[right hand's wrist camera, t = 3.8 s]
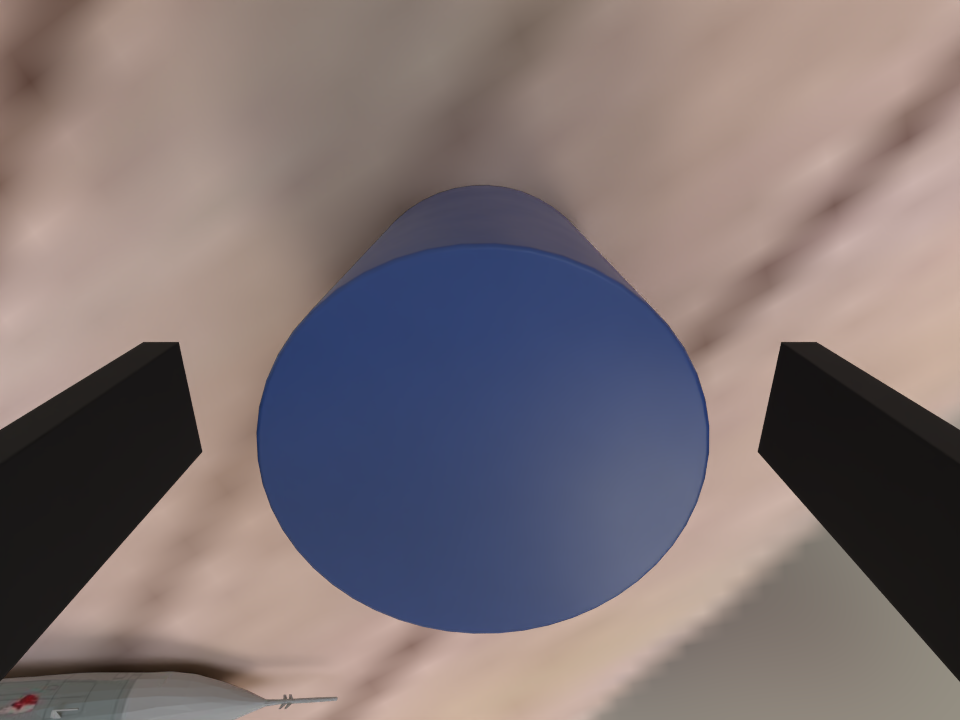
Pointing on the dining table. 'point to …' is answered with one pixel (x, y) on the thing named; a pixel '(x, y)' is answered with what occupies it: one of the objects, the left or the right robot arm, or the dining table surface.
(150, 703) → the airplane
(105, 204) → the dining table surface
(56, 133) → the dining table surface
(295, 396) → the cylinder
